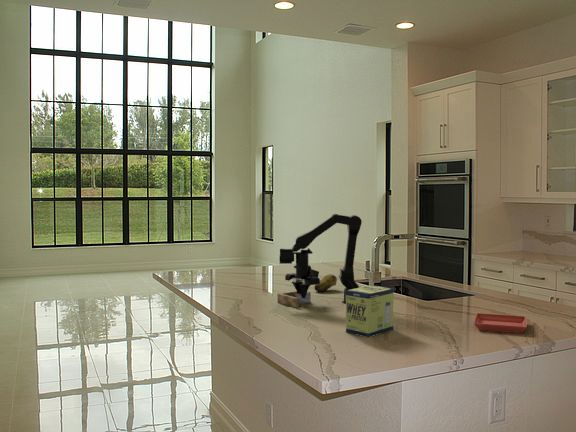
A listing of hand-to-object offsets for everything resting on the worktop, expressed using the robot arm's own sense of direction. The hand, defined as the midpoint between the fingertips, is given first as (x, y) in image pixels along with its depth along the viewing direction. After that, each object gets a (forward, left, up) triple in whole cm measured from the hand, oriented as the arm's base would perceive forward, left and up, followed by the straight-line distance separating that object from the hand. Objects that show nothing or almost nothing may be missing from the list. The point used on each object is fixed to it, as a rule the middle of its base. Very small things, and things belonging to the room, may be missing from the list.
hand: (302, 297), depth 261 cm
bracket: (+2, 0, -3) cm, 3 cm away
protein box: (-54, +11, -3) cm, 55 cm away
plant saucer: (-80, -31, -3) cm, 86 cm away
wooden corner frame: (+2, 0, -2) cm, 3 cm away
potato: (+17, -28, -3) cm, 33 cm away
